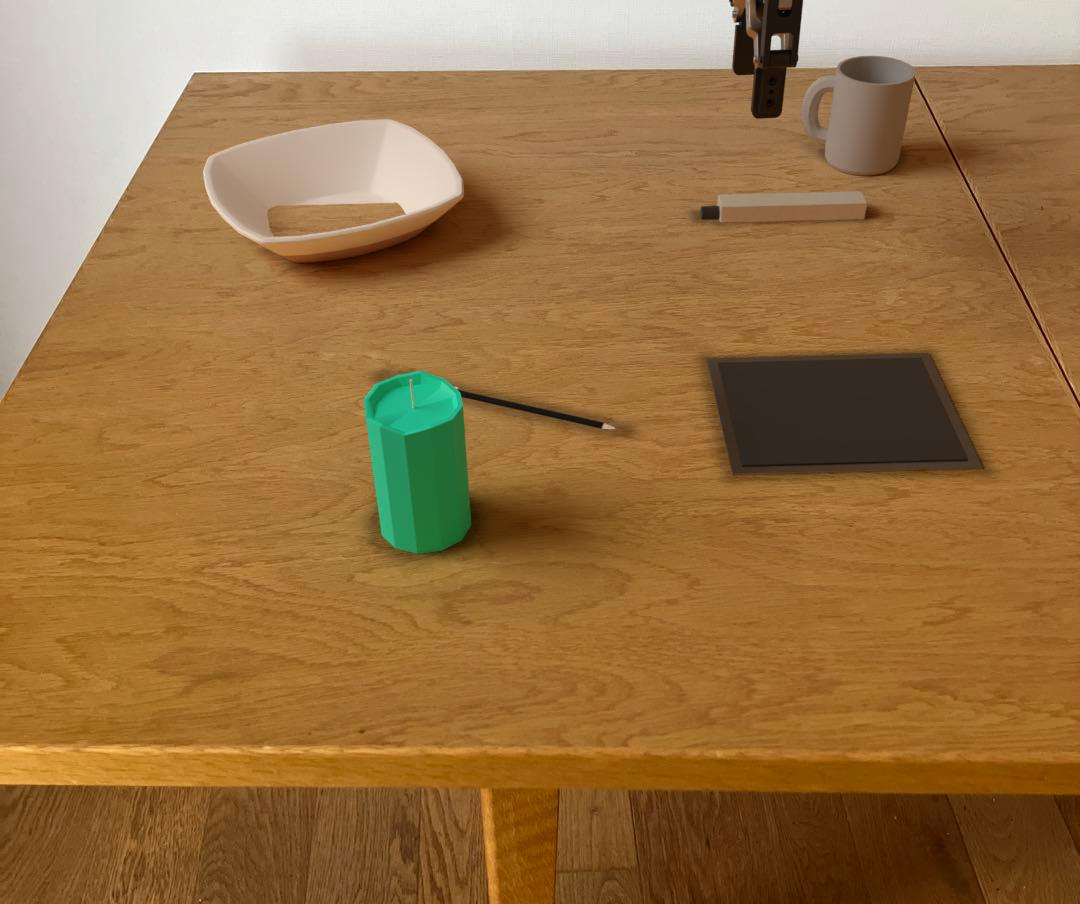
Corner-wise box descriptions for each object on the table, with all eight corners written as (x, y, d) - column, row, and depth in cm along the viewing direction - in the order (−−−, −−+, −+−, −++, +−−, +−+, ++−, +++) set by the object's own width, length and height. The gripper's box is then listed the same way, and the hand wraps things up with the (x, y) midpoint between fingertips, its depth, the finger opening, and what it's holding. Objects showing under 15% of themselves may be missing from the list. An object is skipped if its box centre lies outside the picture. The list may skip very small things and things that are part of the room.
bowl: (408, 158, 120) (403, 107, 116) (495, 254, 105) (492, 198, 102) (194, 205, 113) (182, 151, 110) (255, 313, 99) (244, 256, 95)
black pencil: (389, 381, 91) (388, 369, 90) (628, 435, 85) (628, 422, 85) (384, 387, 90) (383, 375, 90) (624, 442, 85) (624, 429, 84)
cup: (893, 181, 115) (910, 88, 109) (789, 167, 117) (801, 76, 111) (902, 150, 120) (919, 60, 114) (802, 137, 122) (814, 49, 116)
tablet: (926, 363, 92) (929, 351, 91) (979, 478, 82) (983, 466, 81) (705, 369, 92) (706, 356, 91) (730, 485, 81) (732, 472, 81)
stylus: (857, 215, 110) (861, 190, 108) (863, 227, 108) (867, 202, 106) (698, 219, 110) (700, 194, 108) (701, 231, 108) (703, 207, 106)
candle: (390, 500, 81) (371, 349, 73) (478, 504, 80) (468, 353, 72) (372, 560, 76) (349, 407, 68) (465, 566, 76) (453, 412, 68)
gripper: (857, -117, 76) (824, 130, 87) (810, -169, 87) (785, 57, 98) (739, -112, 76) (721, 135, 87) (706, -164, 87) (694, 62, 98)
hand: (755, 94), depth 92 cm, fingers open, 8 cm apart
